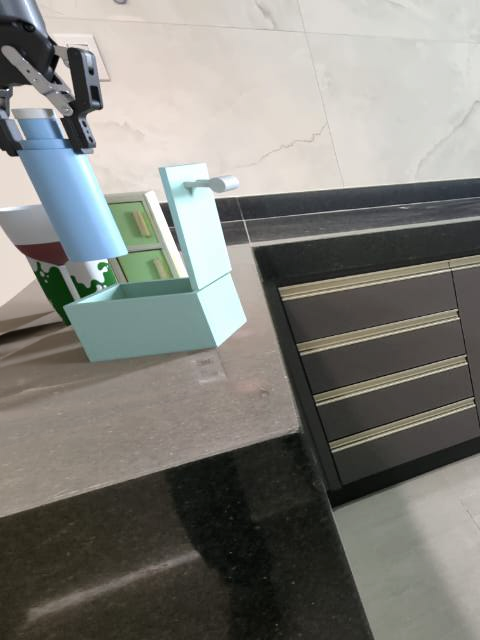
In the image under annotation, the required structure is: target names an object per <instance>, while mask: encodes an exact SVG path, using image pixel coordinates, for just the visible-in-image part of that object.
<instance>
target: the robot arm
mask: <svg viewBox="0 0 480 640" xmlns="http://www.w3.org/2000/svg"><path fill="white" fill-rule="evenodd" d="M60 59H61V60H62V62H63V64H64V66H65V67H66V68H68V69H69V72H70V79H71V84H72V88H73V93H72V89H71V88H70V86H69V85H68V84H67V83H66V82H65V81H64V79H63V78H62V77H61V76H60V75H59V74H58V73H57V72H56V70H57V67H58V64H59V61H60ZM100 82H101V81H100V76H99V71H98V65H97V58H96V55H95V54H94V53H93V52H92V51H90V50H87V49H85V48H79V47H74V46H69V47H68V46H62V45H59V44H58V43H57V42H56V41H55V40H54V39H53V38H52V37H51V36H50V35H49V33H48V31H47V27H46V22H45V20H44V18H43V16H42V13H41V10H40V8H39V5H38V3H37V1H36V0H0V150H1V151H2V152H6V154H7V155H8V156H9V157H11V158H16V157H17V158H20V157H19V155H18V153H17V150H24V148H23V146H22V144H21V142H20V140H24V137H23V136H22V135H23V134H22V133H21V131H20V129H19V126H18V125H17V123H16V119H15V118H13V119H12V118H11V119H10V117H11V107H10V106H11V105H10V103H11V101H10V100H11V98H12V97H13V96H14V87H23V86H31V87H32V86H33V88H34V89H35V90H36V91H37V92H38V93H39V94H40V95H42V96H43V97H45V98H46V99H47V100H48V101H49V102H50V103H51V105H52V106H53V107H54V108H55V109H56V110H57V111H58V113H60V114H61V115H62V116H63V117H59V120H60V122H61V125H62V127H63V129H64V131H65V134H66V136H67V139H69V141H70V143H71V145H72V148H73V150H74V152H75V153H76V154H86V155H93V154H94V153H95V151H94V149H96V148H97V142H96V139H95V137H94V135H93V132H92V130H91V128H90V125H89V123H88V119H87V117H88V114H91V113H93V112H95V111H101V110H103V109H104V102H103V94H102V91H101V88H102V87H101V83H100Z"/></svg>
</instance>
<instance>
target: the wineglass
mask: <svg viewBox="0 0 480 640" xmlns="http://www.w3.org/2000/svg"><path fill="white" fill-rule="evenodd" d="M0 228H1V229H2V231H3V233H4V234H5V235H6V236H7V238H8V239H9V241H10V242H11V243H12V244H13V246H15V248H16V249H17V250H18V251H19V252H20V253H21V254H23V255H24V256H25V257H26V256H27V257H29V258H32V259H34V260H38V261H41V262H46V263H50V264H54V265H57V266H58V268H59V270H60V272H61V274H62V276H63V278H64V280H65V282H66V284H67V286H68V288H69V290H70V292H71V294H72V296H73V298H74V300H75V301H77V300H79V299H81V298H80V296H79V294H78V292H77V290H76V288H75V286H74V284H73V282H72V279H71V277H70V275H69V273H68V271H67V269H66V267H65V263H66V262H68V261H69V259H68V257H67V255H66V253H65V251H64V249H63V247H62V245H61V243H60V241H59V239H58V236H57V234H56V232H55V230H54V228H53V226H52V224H51V222H50V220H49V218H48V216H47V214H46V211H45V209H44V207H43V205H42V203H40V204H39V203H38V204H29V205H28V204H27V205H19V206H18V205H17V206H9V207H2V208H0Z"/></svg>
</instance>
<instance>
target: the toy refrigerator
mask: <svg viewBox="0 0 480 640" xmlns="http://www.w3.org/2000/svg"><path fill="white" fill-rule="evenodd" d="M103 195H104V198H105V200H106V202H107V205H108V207H109V209H110V212H111V214H112V216H113V219H114V221H115V223H116V225H117V228H118V230H119V232H120V235H121V237H122V239H123V242H124V244H125V246H126V249H127V251H128V254H126V255H123V256H119V257H115V258H109V259H107V260H108V263H109V265H110V267H111V269H112V272H113V274H114V276H115V278H116V281H117V283H127V282H138V281H148V280H159V279H170V278H181V277H189V276H188V273H187V269H186V266H185V263H184V261H183V259H182V257H181V254H180V252H179V249H178V248H177V245H176V243H175V240H174V237H173V235H172V232H171V230H170V228H169V225H168V222H167V220H166V218H165V216H164V212H163V211H162V208H161V205H160V202H159V200H158V198H157V195H156V193H155V191H154V190H139V191H129V192H127V191H125V192H115V193H103Z"/></svg>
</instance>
